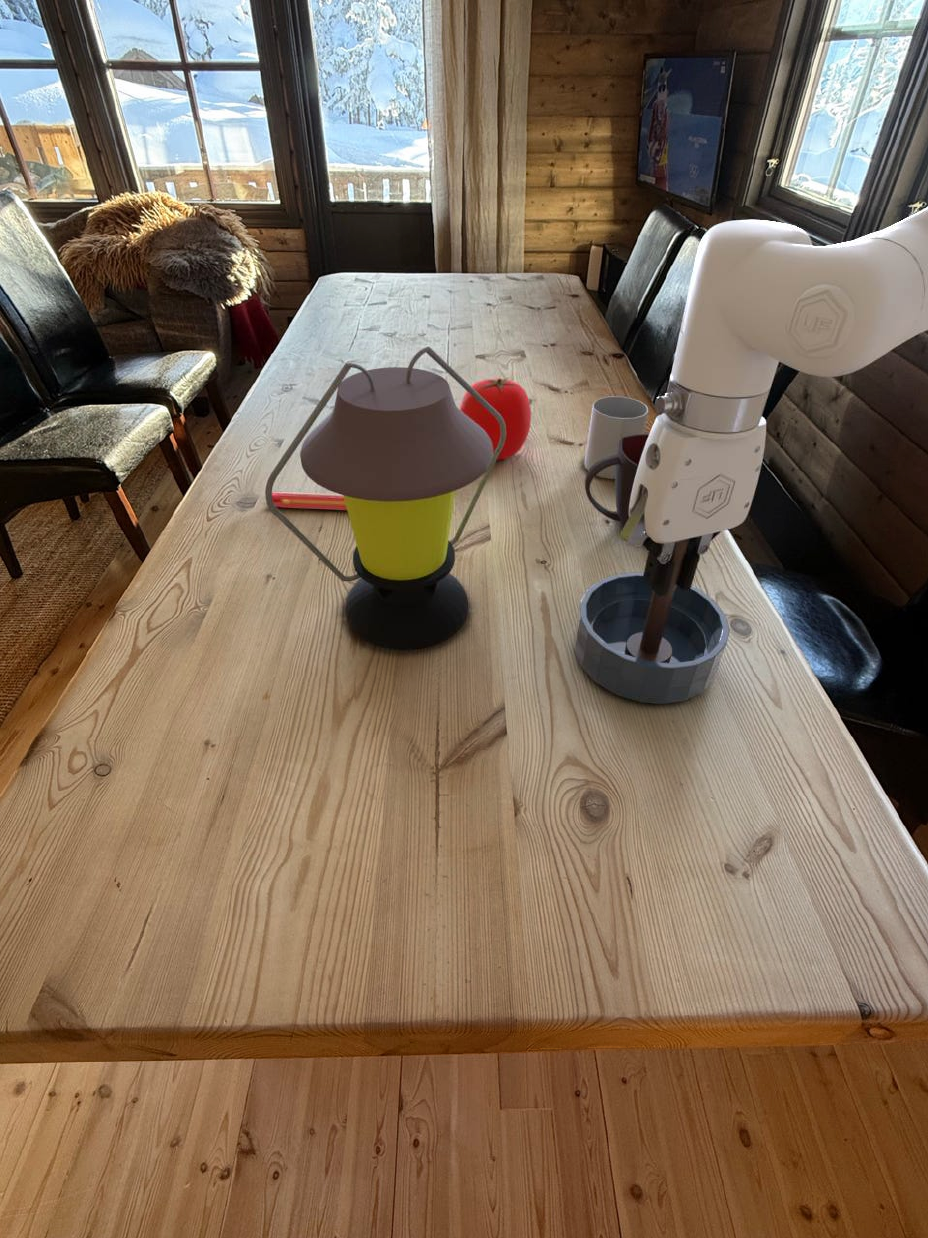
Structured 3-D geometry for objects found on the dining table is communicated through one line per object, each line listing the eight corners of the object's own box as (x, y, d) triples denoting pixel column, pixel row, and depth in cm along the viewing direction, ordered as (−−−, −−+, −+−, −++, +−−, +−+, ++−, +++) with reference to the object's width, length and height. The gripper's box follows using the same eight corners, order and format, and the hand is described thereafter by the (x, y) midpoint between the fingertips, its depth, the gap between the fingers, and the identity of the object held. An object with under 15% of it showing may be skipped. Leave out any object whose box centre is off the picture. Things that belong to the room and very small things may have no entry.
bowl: (723, 634, 77) (738, 594, 73) (701, 728, 66) (717, 686, 62) (595, 598, 81) (602, 559, 77) (555, 680, 71) (561, 639, 67)
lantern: (294, 672, 71) (233, 403, 52) (306, 567, 86) (262, 326, 66) (520, 655, 73) (544, 392, 54) (494, 556, 88) (506, 319, 68)
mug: (685, 547, 90) (707, 467, 82) (585, 549, 89) (598, 470, 81) (664, 508, 97) (683, 432, 90) (572, 511, 97) (582, 434, 89)
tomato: (541, 462, 108) (549, 386, 100) (478, 476, 104) (480, 399, 96) (506, 432, 116) (510, 359, 108) (446, 444, 113) (445, 370, 104)
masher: (674, 647, 72) (708, 529, 62) (665, 676, 68) (700, 556, 58) (630, 635, 73) (657, 518, 63) (619, 662, 70) (646, 543, 60)
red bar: (276, 502, 99) (266, 509, 95) (275, 488, 98) (265, 494, 94) (435, 509, 98) (431, 516, 94) (435, 495, 97) (432, 502, 93)
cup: (596, 450, 112) (605, 392, 105) (643, 462, 108) (655, 403, 102) (576, 470, 106) (584, 410, 99) (625, 484, 103) (636, 423, 96)
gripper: (654, 437, 48) (614, 627, 60) (827, 406, 52) (757, 589, 64) (602, 398, 53) (575, 579, 65) (763, 373, 57) (710, 548, 69)
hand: (666, 583), depth 64 cm, fingers closed on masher
